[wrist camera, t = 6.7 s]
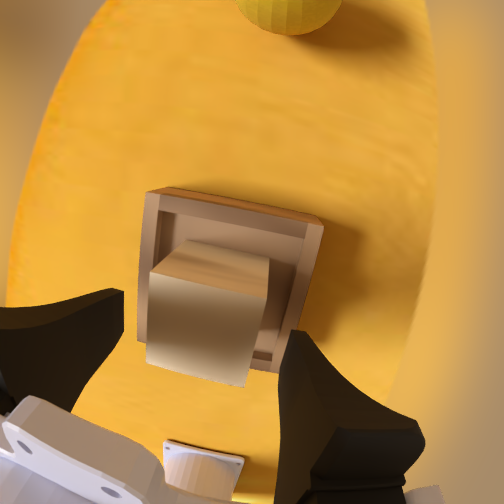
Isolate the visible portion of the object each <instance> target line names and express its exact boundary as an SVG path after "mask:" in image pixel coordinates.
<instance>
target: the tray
mask: <svg viewBox="0 0 504 504" xmlns="http://www.w3.org/2000/svg"><path fill="white" fill-rule="evenodd" d="M323 230H324V226H323V224H322V223H321V222H320V220H319V219H318V218H317V217H316V216H315V215H310V214H306V213H301V212H297V211H292V210H287V209H283V208H278V207H273V206H268V205H263V204H258V203H253V202H248V201H243V200H238V199H233V198H227V197H222V196H216V195H211V194H205V193H200V192H194V191H188V190H182V189H176V188H170V187H165V188H161V189H156V190H152V191H148V192H146V195H145V204H144V213H143V223H142V233H141V245H140V259H139V276H138V303H137V341H140V342H143V343H146V333H147V309H148V291H149V277H150V271H151V270H152V269H153V268H155V267H156V266H157V265H158V264H159V263H160V262H161V261H162V260H163V259H165V258H166V257H167V256H168V255H169V254H170V253H171V252H172V251H174V250H175V249H176V248H177V247H178V246H179V245H180V244H181V243H183V242H184V241H185V240H190V241H195V242H199V243H204V244H208V245H213V246H218V247H222V248H227V249H232V250H236V251H241V252H245V253H250V254H255V255H259V256H264V257H269V275H268V290H267V301H266V305H265V309H264V313H263V317H262V321H261V324H260V328H259V332H258V336H257V340H256V344H255V348H254V352H253V356H252V359H251V363H250V367H249V368H250V369H255V370H261V371H267V372H272V373H278V374H279V368H280V365H281V361H282V358H283V355H284V352H285V348H286V345H287V342H288V338H289V335H290V332H291V329H293V330H296V329H297V325H298V322H299V319H300V315H301V312H302V309H303V305H304V302H305V298H306V295H307V291H308V287H309V284H310V280H311V277H312V273H313V269H314V265H315V262H316V258H317V254H318V250H319V246H320V242H321V238H322V234H323Z"/></svg>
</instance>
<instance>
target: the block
mask: <svg viewBox="0 0 504 504" xmlns="http://www.w3.org/2000/svg"><path fill="white" fill-rule="evenodd" d="M268 275H269V257H264V256H259V255H255V254H250V253H245V252H241V251H236V250H232V249H227V248H222V247H218V246H213V245H208V244H204V243H199V242H195V241H190V240H185V241H184V242H183V243H181V244H180V245H179V246H178V247H177V248H176V249H175V250H174V251H172V252H171V253H170V254H169V255H168V256H167V257H166V258H165V259H163V260H162V261H161V262H160V263H159V264H158V265H157V266H156V267H155V268H153V269H152V270H151V271H150V277H149V291H148V309H147V333H146V363H148V364H152V365H155V366H158V367H162V368H165V369H168V370H172V371H176V372H179V373H183V374H187V375H190V376H194V377H198V378H202V379H206V380H211V381H215V382H219V383H224V384H228V385H233V386H238V387H243V388H244V386H245V382H246V378H247V375H248V371H249V367H250V363H251V359H252V356H253V352H254V348H255V344H256V340H257V336H258V332H259V328H260V324H261V321H262V317H263V313H264V309H265V305H266V301H267V290H268Z"/></svg>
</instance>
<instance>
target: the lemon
mask: <svg viewBox="0 0 504 504" xmlns="http://www.w3.org/2000/svg"><path fill="white" fill-rule="evenodd" d="M235 1H236V3H237V5H238V7H239V9H240V11H241V12H242V13H243V14H244V15H245V16H246V17H247V18H248V19H249V20H250V21H251V22H252V23H253V24H255V25H257V26H258V27H260V28H261V29H263V30H266V31H269V32H272V33H275V34H281V35H300V34H305V33H309V32H311V31H314V30H316V29H318V28H320V27H322V26H323V25H324V24H326V23H327V22H328V21H329V20H331V19H332V17H333V16H334V15H335V13H336V12H337V10H338V9H339V7H340V5H341V3H342V0H235Z"/></svg>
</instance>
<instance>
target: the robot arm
mask: <svg viewBox="0 0 504 504" xmlns="http://www.w3.org/2000/svg"><path fill="white" fill-rule="evenodd" d="M123 332H124V291H121V290H118V289H114V288H108V289H104V290H100V291H96V292H93V293H90V294H86V295H83V296H79V297H76V298H72V299H68V300H65V301H61V302H57V303H52V304H47V305H40V306H32V307H16V308H7V307H4V308H3V307H0V504H249V503H241V502H235V501H231V500H232V493H233V491H234V488H235V486H236V483H237V480H238V478H239V475H240V473H241V470H242V467H243V465H244V461H245V459H244V458H243V457H240V456H234V455H229V454H223V453H218V452H214V451H209V450H204V449H200V448H196V447H192V446H188V445H184V444H180V443H176V442H173V441H169V440H165V441H164V443H163V457H164V469H163V467H162V465H161V463H160V461H159V459H158V458H157V457H156V456H155V455H154V454H153V453H151V452H150V451H149V450H148V449H146V448H145V447H144V446H143V445H141V444H139V443H137V442H135V441H133V440H131V439H129V438H127V437H125V436H123V435H121V434H118V433H115V432H113V431H110V430H108V429H105V428H103V427H100V426H98V425H96V424H93V423H91V422H89V421H86V420H84V419H82V418H80V417H78V416H76V415H73V414H71V411H72V409H73V407H74V405H75V403H76V401H77V399H78V397H79V396H80V394H81V392H82V390H83V389H84V387H85V385H86V384H87V382H88V381H89V380H90V378H91V377H92V376H93V374H94V373H95V372H96V371H97V369H98V368H99V367H100V366H101V364H102V363H103V362H104V361H105V359H106V358H107V357H108V355H109V354H110V353H111V352H112V350H113V349H114V348H115V346H116V344H117V343H118V341H119V339H120V337H121V336H122V334H123ZM278 398H279V414H280V451H279V463H278V473H277V482H276V490H275V497H274V504H445V501H444V499H443V495H442V493H441V490H440V487H439V485H433V486H429V487H423V488H418V489H413V490H410V491H408V492H406V493H403V489H402V486H404V485H405V483H406V480H405V477H404V473H405V472H406V471H407V470H408V469H409V468H410V467H411V466H412V465H413V464H414V463H415V461H416V460H417V459H418V458H419V456H420V455H421V453H422V452H423V450H424V447H425V438H424V436H423V434H422V432H421V429H420V427H419V425H418V423H417V421H416V420H414V419H411V418H409V417H407V416H404V415H402V414H399V413H397V412H395V411H393V410H391V409H389V408H387V407H385V406H383V405H381V404H380V403H378V402H376V401H375V400H373V399H371V398H370V397H369V396H367V395H366V394H364V393H363V392H361V391H360V390H359V389H357V388H356V387H355V386H354V385H352V384H351V383H350V382H349V381H348V380H347V379H346V378H344V377H343V376H342V375H341V374H340V373H339V372H338V371H337V370H336V369H335V367H334V366H333V365H332V364H331V363H330V362H329V361H328V360H327V358H326V357H325V356H324V355H323V354H322V352H321V351H320V350H319V348H318V347H317V346H316V344H315V343H314V342H313V340H312V339H311V338H310V336H309V335H308V334H307V333H306V332H304V331H299V330H293V329H291V332H290V335H289V338H288V342H287V345H286V348H285V352H284V355H283V358H282V361H281V365H280V368H279V380H278Z"/></svg>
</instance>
